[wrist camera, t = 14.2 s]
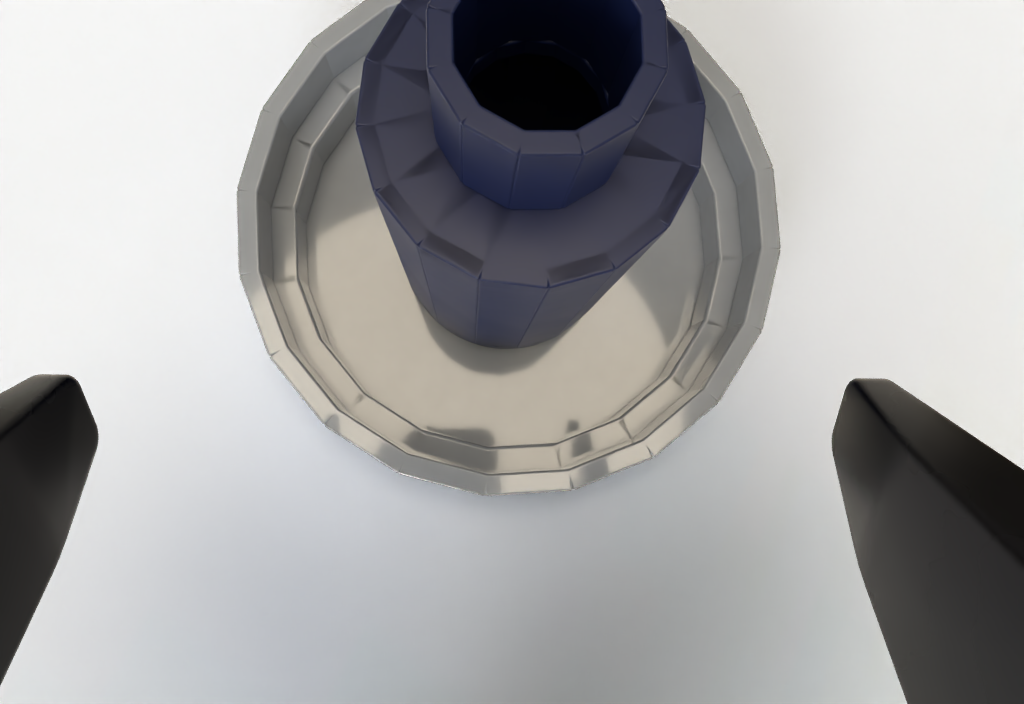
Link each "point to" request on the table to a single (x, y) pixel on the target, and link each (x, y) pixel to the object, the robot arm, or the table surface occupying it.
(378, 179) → the dark blue vase
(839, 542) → the table surface
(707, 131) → the steel dish
